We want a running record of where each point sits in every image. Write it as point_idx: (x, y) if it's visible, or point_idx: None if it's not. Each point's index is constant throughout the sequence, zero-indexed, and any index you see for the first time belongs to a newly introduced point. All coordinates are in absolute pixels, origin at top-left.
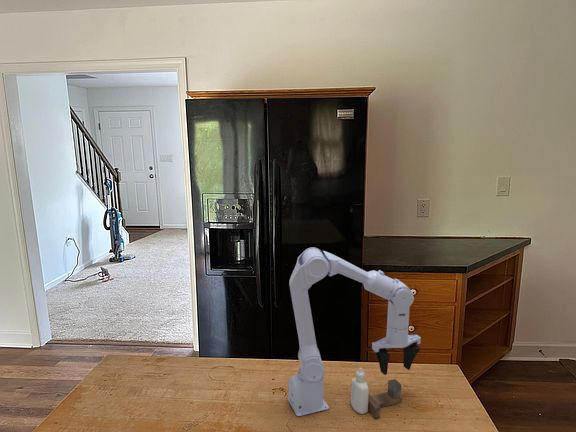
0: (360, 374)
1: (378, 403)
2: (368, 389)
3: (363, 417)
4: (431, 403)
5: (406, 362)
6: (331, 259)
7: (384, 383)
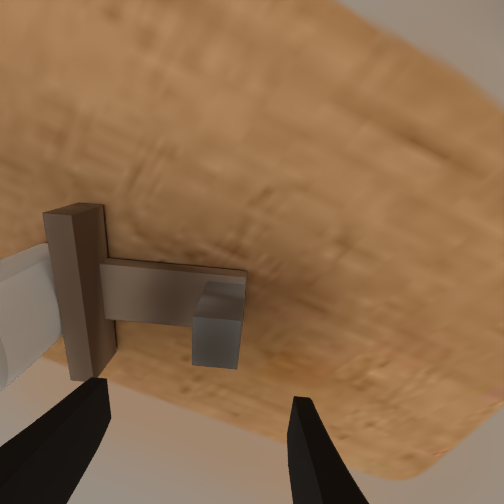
0: None
1: (132, 317)
2: (3, 389)
3: None
4: (344, 364)
5: (297, 466)
6: None
7: (265, 184)
